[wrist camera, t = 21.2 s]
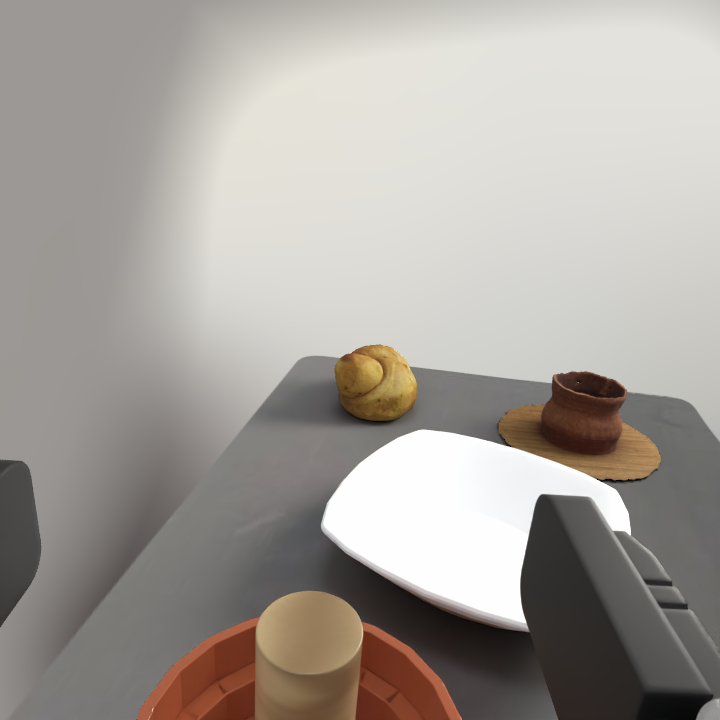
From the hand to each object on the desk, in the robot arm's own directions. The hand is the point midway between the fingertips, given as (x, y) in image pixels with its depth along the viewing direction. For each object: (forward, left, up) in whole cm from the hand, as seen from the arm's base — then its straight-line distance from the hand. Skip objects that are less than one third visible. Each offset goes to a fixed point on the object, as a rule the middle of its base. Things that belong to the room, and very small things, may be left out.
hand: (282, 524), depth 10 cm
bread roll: (+5, +59, -26) cm, 65 cm away
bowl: (+12, +31, -26) cm, 42 cm away
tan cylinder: (0, +11, -25) cm, 28 cm away
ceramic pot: (+28, +53, -26) cm, 65 cm away
